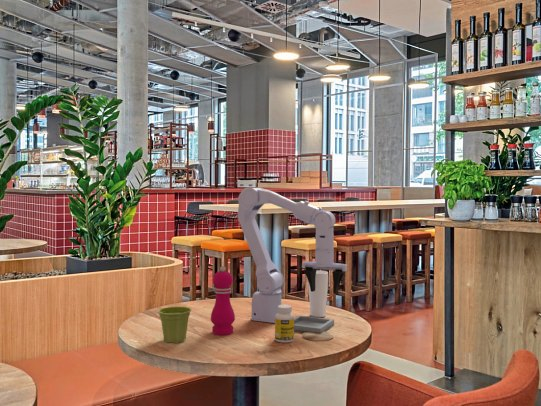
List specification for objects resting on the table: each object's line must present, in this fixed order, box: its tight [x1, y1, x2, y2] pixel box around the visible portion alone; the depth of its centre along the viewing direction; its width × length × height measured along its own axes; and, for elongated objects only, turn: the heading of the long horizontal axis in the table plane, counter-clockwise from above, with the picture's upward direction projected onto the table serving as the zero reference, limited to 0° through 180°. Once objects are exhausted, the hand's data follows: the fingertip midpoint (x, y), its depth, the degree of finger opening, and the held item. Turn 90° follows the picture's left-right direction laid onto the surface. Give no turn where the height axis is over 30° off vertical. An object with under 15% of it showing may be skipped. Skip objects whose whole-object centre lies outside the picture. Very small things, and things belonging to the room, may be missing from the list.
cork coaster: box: [302, 331, 334, 342], centre depth 154 cm, size 9×9×1 cm
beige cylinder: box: [307, 269, 329, 318], centre depth 179 cm, size 7×7×15 cm
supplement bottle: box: [274, 304, 295, 344], centre depth 150 cm, size 5×5×10 cm
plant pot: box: [157, 306, 192, 344], centre depth 150 cm, size 9×9×9 cm
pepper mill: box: [210, 265, 236, 336], centre depth 158 cm, size 7×7×20 cm
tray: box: [294, 314, 335, 333], centre depth 164 cm, size 12×12×2 cm
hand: (324, 292), depth 167 cm, fingers open, 7 cm apart
